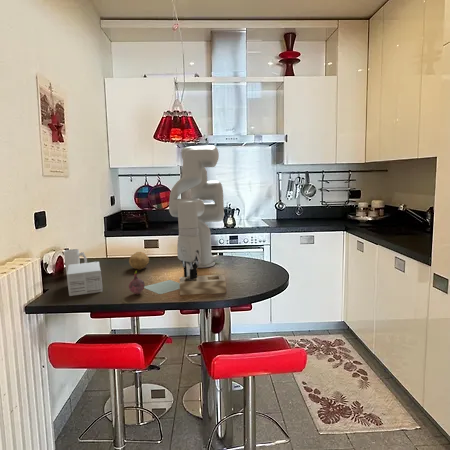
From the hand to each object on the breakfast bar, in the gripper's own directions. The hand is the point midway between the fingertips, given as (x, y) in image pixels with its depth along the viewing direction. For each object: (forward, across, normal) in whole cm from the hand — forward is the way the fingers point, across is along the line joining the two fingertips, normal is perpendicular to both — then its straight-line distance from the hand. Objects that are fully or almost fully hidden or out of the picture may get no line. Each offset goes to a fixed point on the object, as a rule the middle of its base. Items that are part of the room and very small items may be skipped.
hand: (190, 277), depth 151 cm
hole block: (+6, +3, +4) cm, 7 cm away
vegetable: (+6, -12, -17) cm, 22 cm away
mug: (+6, -62, -22) cm, 66 cm away
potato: (+6, -48, +4) cm, 49 cm away
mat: (+6, -12, -4) cm, 14 cm away
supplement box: (+6, -38, -28) cm, 47 cm away
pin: (+3, 0, 0) cm, 3 cm away
